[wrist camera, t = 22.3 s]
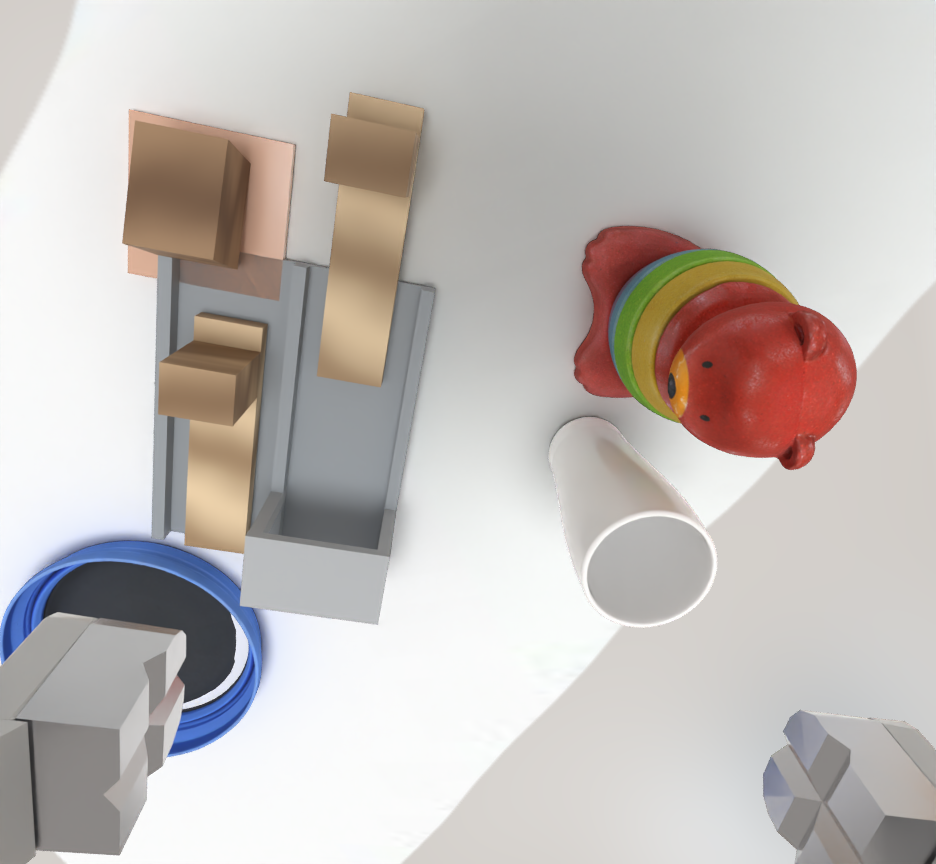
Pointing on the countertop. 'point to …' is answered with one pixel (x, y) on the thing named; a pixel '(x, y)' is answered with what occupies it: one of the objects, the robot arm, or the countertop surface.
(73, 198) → the countertop surface
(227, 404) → the strip far
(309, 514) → the lane board
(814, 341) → the stacking bear
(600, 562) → the drinking glass
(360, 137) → the strip near
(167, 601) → the blue round shallow tray
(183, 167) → the walnut block
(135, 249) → the coaster
